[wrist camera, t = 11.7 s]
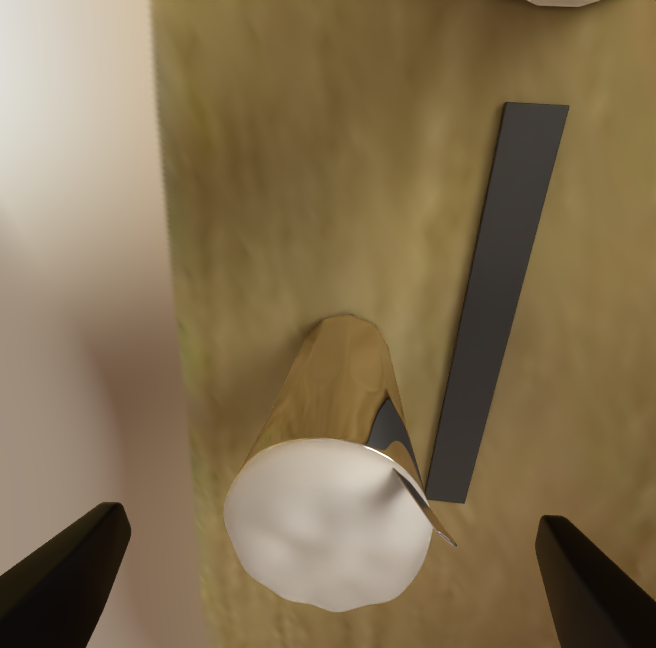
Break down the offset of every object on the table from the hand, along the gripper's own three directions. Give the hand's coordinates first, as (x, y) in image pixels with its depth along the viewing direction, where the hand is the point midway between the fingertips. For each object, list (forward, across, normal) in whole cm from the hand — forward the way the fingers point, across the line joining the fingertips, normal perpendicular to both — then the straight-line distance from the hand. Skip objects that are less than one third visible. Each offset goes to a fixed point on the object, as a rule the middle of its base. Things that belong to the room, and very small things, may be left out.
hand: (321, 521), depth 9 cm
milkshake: (+8, 0, 0) cm, 8 cm away
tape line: (+8, -5, 0) cm, 10 cm away
